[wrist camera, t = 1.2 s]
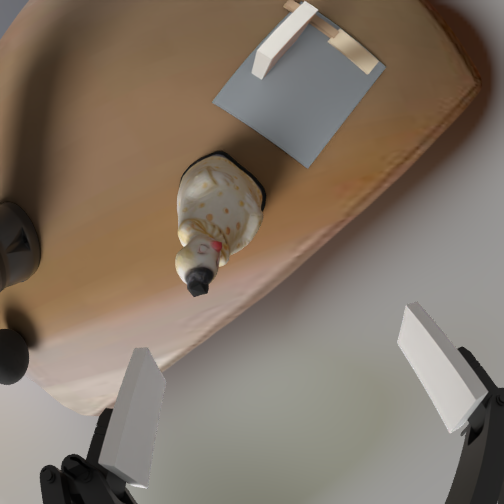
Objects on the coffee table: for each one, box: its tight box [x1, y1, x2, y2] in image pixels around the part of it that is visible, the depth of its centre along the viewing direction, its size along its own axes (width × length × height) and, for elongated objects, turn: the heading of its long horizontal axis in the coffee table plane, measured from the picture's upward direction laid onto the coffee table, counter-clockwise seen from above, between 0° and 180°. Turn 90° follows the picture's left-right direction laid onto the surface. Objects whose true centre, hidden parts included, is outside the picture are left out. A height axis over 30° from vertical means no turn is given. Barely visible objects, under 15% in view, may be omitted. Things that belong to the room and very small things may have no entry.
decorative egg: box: [0, 329, 29, 385], centre depth 38 cm, size 12×12×15 cm
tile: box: [251, 1, 318, 80], centre depth 23 cm, size 2×8×10 cm, turn 144°
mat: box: [212, 1, 386, 168], centre depth 29 cm, size 15×20×1 cm
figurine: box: [175, 151, 266, 297], centre depth 27 cm, size 12×10×20 cm
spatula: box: [284, 0, 379, 74], centre depth 26 cm, size 15×3×1 cm, turn 55°
